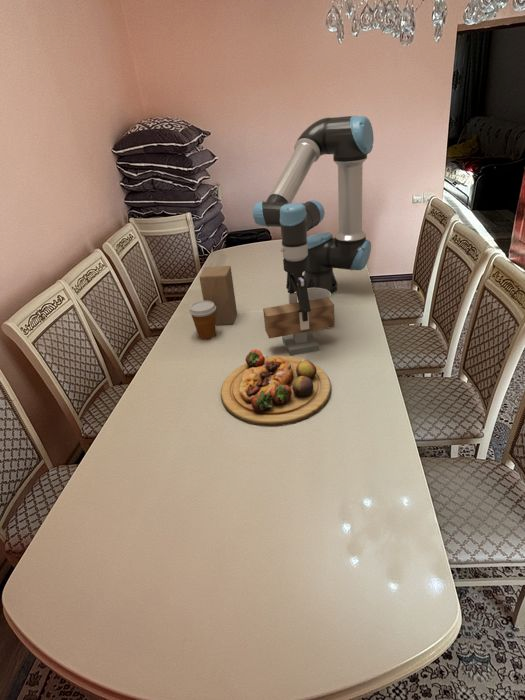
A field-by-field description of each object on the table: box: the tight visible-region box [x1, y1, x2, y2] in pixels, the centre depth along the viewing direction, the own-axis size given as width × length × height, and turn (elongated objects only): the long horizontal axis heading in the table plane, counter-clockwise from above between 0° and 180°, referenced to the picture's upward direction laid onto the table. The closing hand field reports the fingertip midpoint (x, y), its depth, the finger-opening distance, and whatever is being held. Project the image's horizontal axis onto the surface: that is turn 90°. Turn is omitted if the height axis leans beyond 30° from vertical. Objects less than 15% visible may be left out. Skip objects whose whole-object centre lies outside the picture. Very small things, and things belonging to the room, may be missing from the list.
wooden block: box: [198, 265, 238, 326], centre depth 170 cm, size 10×10×20 cm
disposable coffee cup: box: [189, 300, 217, 340], centre depth 162 cm, size 10×10×12 cm
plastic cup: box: [307, 288, 332, 301], centre depth 162 cm, size 11×11×12 cm
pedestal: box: [281, 331, 320, 357], centre depth 150 cm, size 10×10×6 cm
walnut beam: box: [262, 298, 336, 340], centre depth 147 cm, size 22×6×8 cm, turn 102°
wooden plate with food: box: [220, 348, 332, 427], centre depth 130 cm, size 32×32×8 cm
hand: (299, 319), depth 147 cm, fingers open, 13 cm apart
